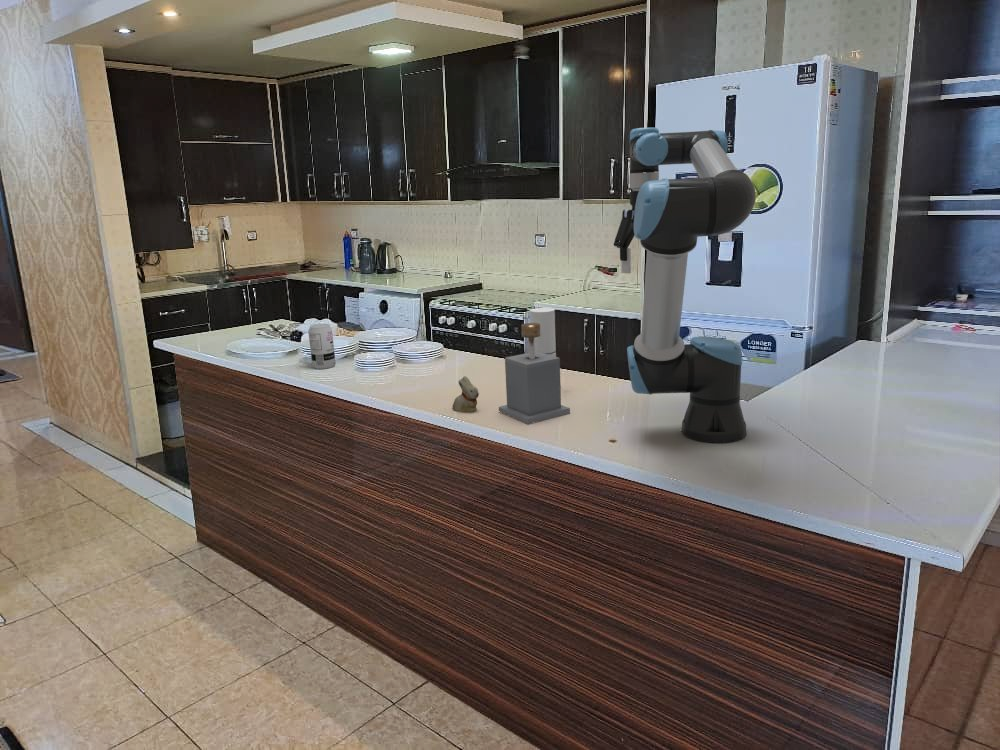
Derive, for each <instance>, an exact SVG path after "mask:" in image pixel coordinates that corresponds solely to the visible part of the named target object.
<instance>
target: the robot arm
mask: <svg viewBox="0 0 1000 750" xmlns="http://www.w3.org/2000/svg"><path fill="white" fill-rule="evenodd" d="M728 142H729V141H728V135H727V134H726V132H725V131H724V130H714V129H709V130H700V131H682V132H678V131H677V132H664V133H663V132H661V133H660V130H659V129H658V128H657V127H639V128H638V127H637V128H632V129H631V130H630V133H629V141H628V143H629V144H628V145H629V189H631V191H629V205H630V206H631V209H623V210H622V215H621V216H622V217H621V220H620V223H619V227H618V229H617V232H616V236H615V239H614V242H613V246H614V247H616V248H617V249H619V259H620V262H621V264H620V267H621V271H620V272H621V274H631V273H632V272H631V271H632V269H631V267H632V263H631V261H632V258H631V257H632V256H631V254H632V253H631V250H632V249H631V248H629V247H630V245H631V243H632V241H633V239H634V237H635V238H636V239H638V240H640V245H641V247H642V248H643V250H646V260H645V261H646V263H645V273H644V274H645V275H644V276H645V277H644V289H643V303H642V304H643V305H642V318H641V319H642V320H641V321H642V322H641V331H640V332H641V333H640V334H638V335H637V336H636V337H635V339H634V344H633V345H629V346H628V347H626V351H627V352H626V353H627V354H626V355H627V361H628V370H629V377H630V378H629V379H630V382H631V384H630V385H631V388H632V391H633V392H634V393H636V394H641V395H645V394H646V395H656V394H657V395H658V394H659V395H661V394H685V393H686V394H689V403H688V405H687V408H686V411H685V414H684V418H683V419H682V422H681V433H682V434H683V435H684V436H685V437H687V438H690V439H692V440H695V441H700V442H705V443H718V444H719V443H731V442H736V441H739V440H742V439H744V438H745V437H746V435H747V423H746V421H745V419H744V414H743V411H742V407H741V383H742V382H741V381H742V379H741V377H742V365H743V362H742V349H741V347H740V345H739V344H738V343H736V342H734V341H731V340H729V339H727V338H721V337H714V336H695V337H694V336H693V337H691V339H690V341H689V344H686V343H685V342H684V340H683V338H682V337H681V336H680V331H681V323H682V322H681V321H682V312H683V301H684V294H685V286H686V277H687V265H688V257H689V253H691V252H692V251H693V250H695V248H696V247H697V244H698V243H697V242H698V237H699V238H700V237H713V236H720V235H723V234H728V233H730V232H732V231H733V230H734V229H737V228H738V227H740V226H741V225H742V224H743V223H745V221H746V219H748V217H749V216H750V215H751V213H752V211H753V208H754V207H755V204H756V203H755V202H756V197H757V196H756V187H755V185H754V183H753V181H752V180H751V178H750V177H749V175H747V174H746V173H745V172H743V171H742V170H740V169H737V167H736V166H735V165H734V163H733V162H732V160H731V159H730V158H729V157H730V156H729V155H727V154H728V146H729V145H728ZM685 164H686V165H687V164H689V165H692V166H693V168H694V170H695V172H696V173H697V175H698V177H694V178H693V177H691V178H687V177H686V178H672V179H671V178H661V179H660V170H659V168H660V166H665V165H668V166H669V165H685Z"/></svg>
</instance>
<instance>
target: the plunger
mask: <svg viewBox="0 0 1000 750" xmlns="http://www.w3.org/2000/svg"><path fill="white" fill-rule="evenodd" d="M539 336H541V333H540V324H539V323H531V322H526V323H522V324H521V337H522V338H527V339H528V353H529V359H530V360H532V359H535V344H534V337H539Z"/></svg>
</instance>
